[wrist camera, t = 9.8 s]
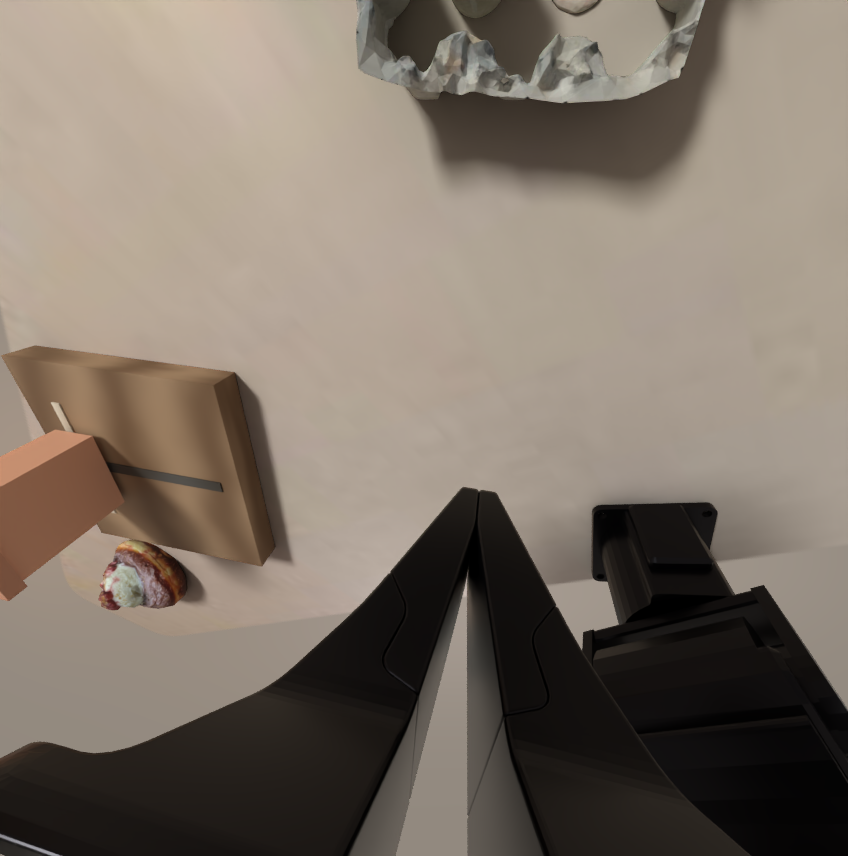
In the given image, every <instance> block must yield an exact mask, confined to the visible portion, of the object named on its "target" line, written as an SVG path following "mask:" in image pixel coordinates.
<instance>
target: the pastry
mask: <svg viewBox="0 0 848 856" xmlns="http://www.w3.org/2000/svg"><path fill="white" fill-rule="evenodd" d="M103 576H104V578H103V582H102V583H101V584H100V586H101V588H102V592H101V594H100V596H99V601H101V606H102V607H104V608H106V609H109V610H118V609H119V608H120V607H121V606H122V607H136V606H138V605H141V606H144V607H149V608H157V609H159V608H164V607H168V606H173V605H175V604H176V603H177V602H178V601H179V600H180V599H181V598H182V597H183V596H184V595H185V593H186V590H187V583H186V577H185V575H184V572H183V571H182V569H181V567H180V566H179V564H178V563H177V561H176V560H175V559H174V558H173V557H172V556H170V555H169V554H167V553H166V552H164V551H163V550H161V549H160V548H159V547H157V546H155V545H153V544H150V543H148V542H144V541H139V540H133V539H132V540H129V541H126V542H123V543H122V544H120V545H119V546H118V548H117V549H116V552H115V556H114V559H113V562H112V563H110V564H109V565H108V567H107V569H106V571H105V572H104V575H103Z"/></svg>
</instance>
